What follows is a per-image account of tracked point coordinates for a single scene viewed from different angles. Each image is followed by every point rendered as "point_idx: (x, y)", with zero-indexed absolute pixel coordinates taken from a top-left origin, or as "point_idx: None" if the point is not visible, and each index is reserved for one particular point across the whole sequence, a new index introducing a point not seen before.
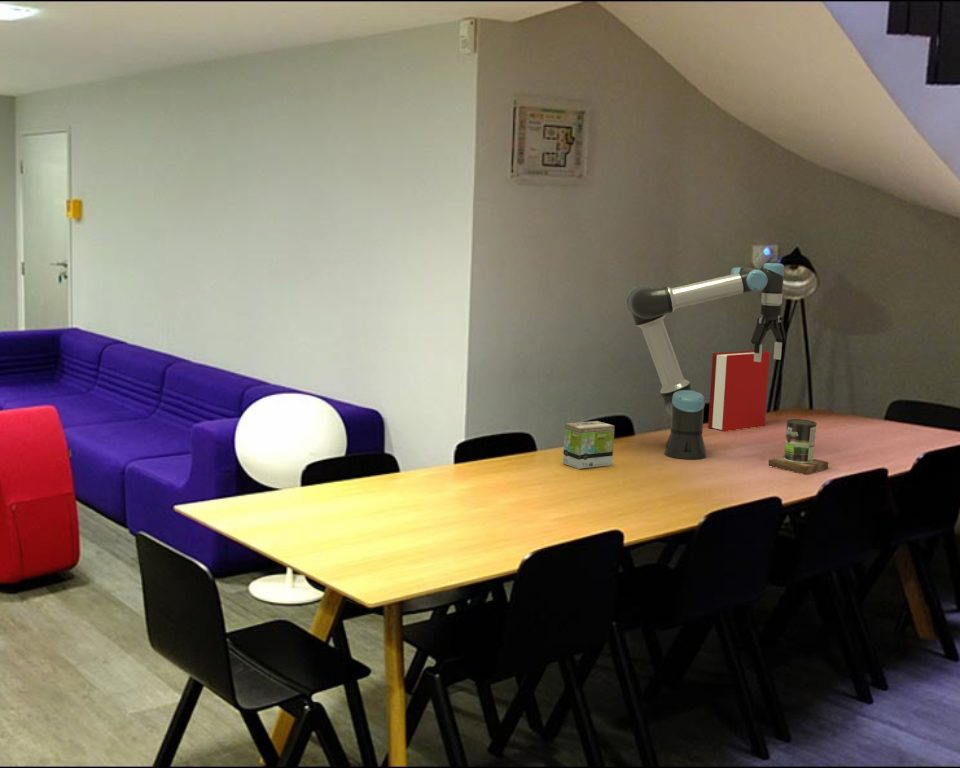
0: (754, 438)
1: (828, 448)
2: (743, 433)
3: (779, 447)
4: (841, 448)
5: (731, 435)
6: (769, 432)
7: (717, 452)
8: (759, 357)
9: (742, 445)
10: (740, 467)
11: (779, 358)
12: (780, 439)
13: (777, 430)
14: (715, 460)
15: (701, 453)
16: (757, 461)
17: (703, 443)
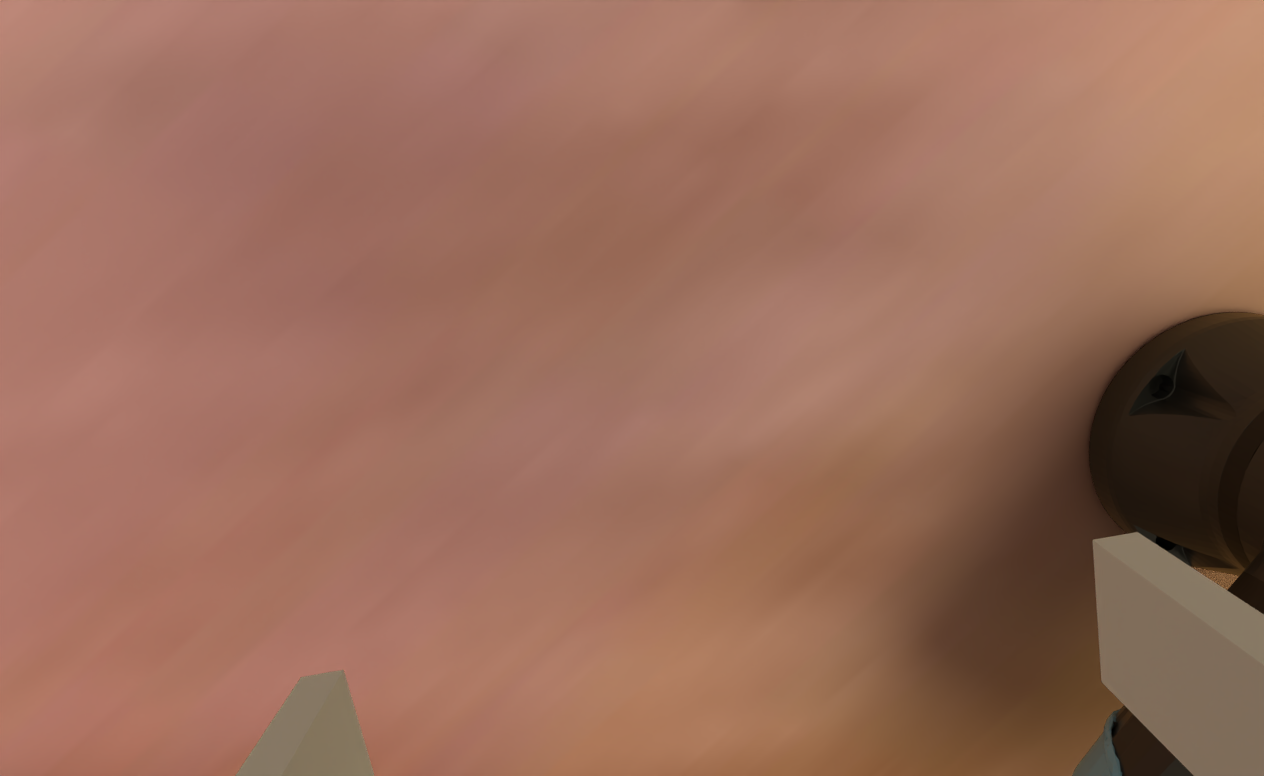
0: (419, 609)
1: (157, 169)
2: (373, 741)
3: (470, 343)
4: (61, 126)
5: (494, 728)
6: (182, 699)
7: (970, 407)
8: (1207, 597)
9: (657, 490)
10: (1201, 9)
11: (335, 692)
12: (272, 519)
13: (82, 723)
14: (1172, 240)
15: (1242, 318)
16: (952, 92)
17: (1230, 363)
